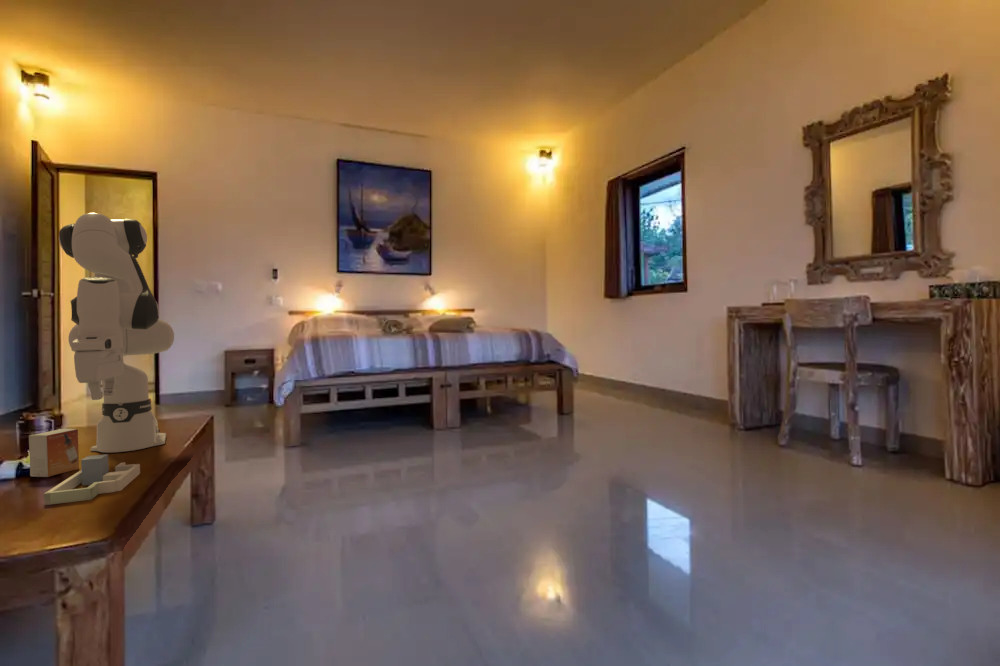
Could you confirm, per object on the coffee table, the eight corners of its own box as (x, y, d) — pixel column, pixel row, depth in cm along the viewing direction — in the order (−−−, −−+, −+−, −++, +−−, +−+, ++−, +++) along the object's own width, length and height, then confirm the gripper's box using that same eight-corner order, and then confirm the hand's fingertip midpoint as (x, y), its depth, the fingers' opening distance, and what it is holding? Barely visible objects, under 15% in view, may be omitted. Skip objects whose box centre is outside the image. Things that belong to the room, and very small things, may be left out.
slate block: (89, 480, 123) (88, 455, 123) (109, 478, 125) (108, 454, 124) (82, 485, 119) (81, 460, 119) (102, 483, 121) (101, 458, 121)
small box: (47, 478, 126) (45, 435, 126) (29, 477, 127) (27, 435, 127) (80, 468, 134) (78, 428, 134) (62, 467, 135) (61, 428, 135)
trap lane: (87, 475, 127) (86, 466, 127) (144, 469, 131) (143, 460, 131) (44, 505, 107) (43, 493, 106) (113, 497, 111) (113, 486, 111)
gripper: (101, 341, 136) (104, 393, 137) (67, 343, 117) (70, 404, 117) (129, 340, 139) (132, 391, 139) (100, 342, 119) (103, 402, 120)
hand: (103, 397), depth 128 cm, fingers open, 6 cm apart
